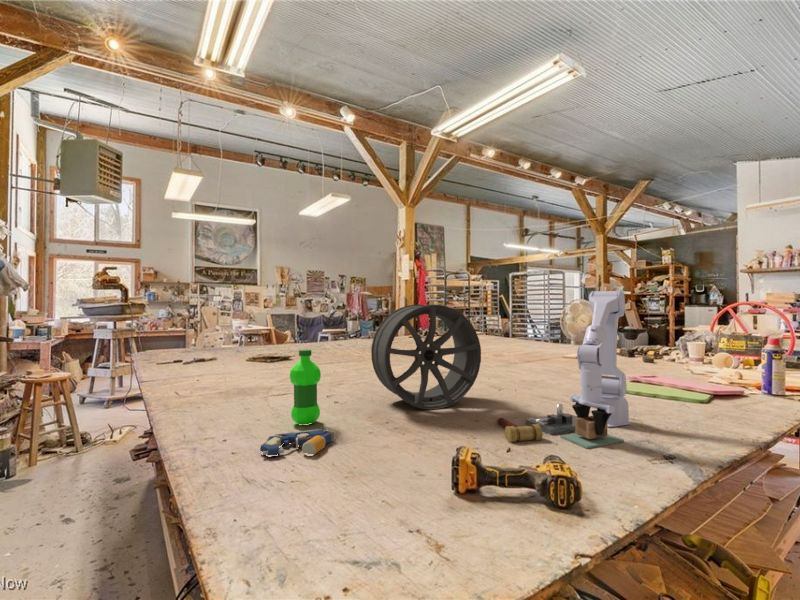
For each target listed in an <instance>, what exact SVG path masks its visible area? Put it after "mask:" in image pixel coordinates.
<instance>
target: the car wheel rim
mask: <svg viewBox="0 0 800 600" xmlns="http://www.w3.org/2000/svg"><path fill="white" fill-rule="evenodd" d="M422 315H429V327H428V331H427V335H426V336H425V338H424V341H423V339H422V337H421V336H420V334H419V333H418V332H417V331H416V329H415V328H414V326H412V324H411V323H410V322H409V321H410V320H412V319H414V318H416V317H418V316H422ZM437 318H438V319H440V320H441V321H442V322H443V323H444V324H445V326H446V327H447V328H448V330H446V332H445V333H443V334H442V335H441V336H439V337H438V338H436V339H435V340H434V338H435V335H436V329H437ZM402 327H405V328H406V329H407V331H408V332H409V334H410V335H411V336H412V338H413V341H414V342H415V346H416V348H415V349H397V348H392V345H393V342H394V340H395V337H396V336H397V334H398V332H399V331H400V329H401V328H402ZM451 337H452V339H453V340H452V341H453V346H454V347H442V348H441V346H442V345H444V344H445V343H446V342H448V340H450V338H451ZM481 347H482V346H481V343H480V338H479V336H478V333H477V330H476V329H475V327H474V325H473V324H472V323H471V321H470V320H469V319H468V318H467V317H466V316H465V315H464V314H463V313H461V312H459V311H458V310H456V309H455V308H452V307H449V306H447V305H441V304H411V305H410V304H409V305H404V306H402V307H399V308H398V309H395V310H393V311H392V312H391V313H389V314H388V315H387V316H386V317H385V318H384V319H383V320H382V322H381V323H380V324H379V326H378V327H377V329H376V331H375V333H374V336H373V339H372V343H371V350H370V351H371V356H370V357H371V363H372V367H373V371H374V372H375V375H376V377H377V379H378V380H379V382H380V383H381V384H382V385H383V386H384V387H385V388H386V389H387V390H388V391H390V392H391V393H393V394H394V395H396V396H397V397H399V398H400V399H401V400H402V401H403V402H405V403H407V404H408V405H411V406H413V407H414V408H419V409H421V410H431V411H433V410H432V409H434V410H441V409H444V408H447V407H450V406H452V405H454V404H456V403H457V402H458V401H460V400H461V399H462V398H464V397H465V396H466V394H467V393H468V392H469V391H470V390H471V389H472V387H473V386H474V384H475V382H476V380H477V378H478V375H479V371H480V367H481V363H482V360H481V359H482V348H481ZM436 351H437V352H436ZM391 354H392V355H399V356H406V357H413V358H414V360H413V362H412V364H411V365H410V366H409V368H407V370H406V371H405V372H403V373H402V374H401V375H399V376H398V377H396V376H395V374H394V371H393V369H392V363H391ZM448 355H453V361H452V363H451V362H448V361H447V360H445V359H444V358H443V357H444V356H448ZM438 366H441V367H443V368H445V369H447V370H448V372H447V374H446V376H445V377H443V375H442V373H441V371H440V369H439V367H438ZM419 368H420V385H419V390H418V392H415V391H409V390H407V389H405V388H404V387H403V386H402V385H401V383H402V382H404V381H405V380H407V379H408V378H410V377H411V376H412V375H413V374H415V373H416V372H417V371H418V370H419ZM429 371H430V372H431V374H432V375H433V377H434V378H435V379H436V380H437V383H438V384H436V385H435V386H434V387H432V388H430V389H428V390H427V386H428V382H429Z"/></svg>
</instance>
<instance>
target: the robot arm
mask: <svg viewBox="0 0 800 600" xmlns="http://www.w3.org/2000/svg"><path fill="white" fill-rule="evenodd" d="M625 297H626V296H625V293H624V292H623V290H604V291H603V290H601V291H597V290H596V291H595V290H592V291H590V293H589V297H588V305H589V307H590V309H591V311H592V312H593V313H592V320H591V325H589V326H587V327H586V330H585V332H584V333H585V334H584V337H583V341H582V344H581V345H579V346H578V347H577V351H576V359H577V362H578V369H579V371H580V372H579V373H580V374H579V375H580V377H579V378H580V379H579V380H580V383H579V384H580V395H577V394H572V395H570V397H569V399H570V400H569V401H570V403H571V402H572V403H575V404H572V405H571V406H572V409H573V411H574V412H575V416H577V417H578V418H581V417H588V416H590V412H591V414H592V415H591V416H593V418H594V422H595V431H596V435H603V432H604V428H605V425H606V423H607V428H616V427H621V426H626V425H627V426H628V425H631V424H632V422H630V419H629V417H630V416H629V415H630V414H629V411H630V410H629V406H630V405H629V402H628V399H627V398H626V397H625V396H626V394H627V389H628V388H627V386H628V385H627V380H626V379H627V378H626V376H627V375H626V374H625V372H624V371H622V370H621V369H620V368H618V367H617V355H618V353H617V352H618V349H617V348H618V323H619V319H620V318H621V317H624V315H625V312H626V310H625V309H626V298H625ZM591 408H594V409H595V410H591Z"/></svg>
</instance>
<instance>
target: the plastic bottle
mask: <svg viewBox="0 0 800 600" xmlns="http://www.w3.org/2000/svg"><path fill="white" fill-rule="evenodd" d="M298 356H299V357H300V360H299V361H298V362H297V363H296V364H295V365H293V366H292V368H291V369H290V372H289V380H290V382H291V384H292V385H293V406H292V408H291V413H290V414H291V415H290V416H291V417H290V418H291V419H292V421H293V422H295V423H296V424H297V423H298V424H309V423H313V422H314V423H316V422H317V421H318V419H319V418H320V416H321V409H320V406H319V405H318V383H319V382H320V381H321V373H322V372H321V370H320V367H319V366H318V365H317V364H316V363H315V362H314V361H312V360H311V356H312V349H309V348H308V349H305V348H304V349H299V350H298ZM314 423H313V424H314ZM298 424H297V425H298Z"/></svg>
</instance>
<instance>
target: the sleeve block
mask: <svg viewBox="0 0 800 600" xmlns="http://www.w3.org/2000/svg"><path fill="white" fill-rule="evenodd" d="M574 433H575V434H578V435H580V436H583V437H585V438H588V439H592V438H598V437H604V436H608V435H607V434H608V427H607V423H606V425H605V428H604V432H603V435H596V431H595V422H594V418H593V415H589V416H588V417H581V418H575V431H574Z"/></svg>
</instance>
